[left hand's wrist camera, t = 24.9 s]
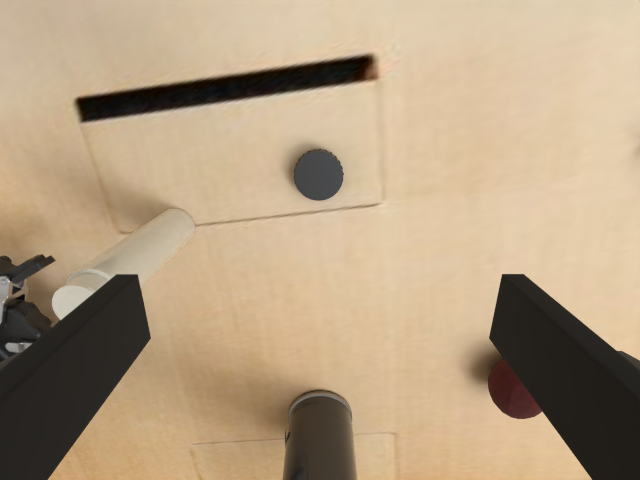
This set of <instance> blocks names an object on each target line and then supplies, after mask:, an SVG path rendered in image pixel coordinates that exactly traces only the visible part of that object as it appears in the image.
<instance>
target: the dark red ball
mask: <svg viewBox="0 0 640 480" xmlns="http://www.w3.org/2000/svg"><path fill="white" fill-rule="evenodd" d="M488 388H489V392H490V395H491V397H492V400H493V402H494V403H495V404H496V405H497V407H498V408H499V409H500V410H501V411H502V412H503V413H505V414H507V415H508V416H510V417H513V418H517V419H526V418H531V417H535V416H536V415H538V414H539V413H541V412H542V410H541V409H540V407H539V406H538V404H537V403H536V402H535V400H534V399H533V398H532V396H531V395H530V393H529V392H528V391H527V389H526V388H525V387H524V385H523V384H522V383H521V381H520V380H519V378H518V377H517V376H516V374H515V373H514V372H513V370H512V369H511V367H510V366H509V365H508V363H507V362H506V361H505V359H503V360H501V361H500V362H499V363H498V364H497V365H495V366H494V367H493V369H492V371H491V373H490V375H489V378H488Z"/></svg>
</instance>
